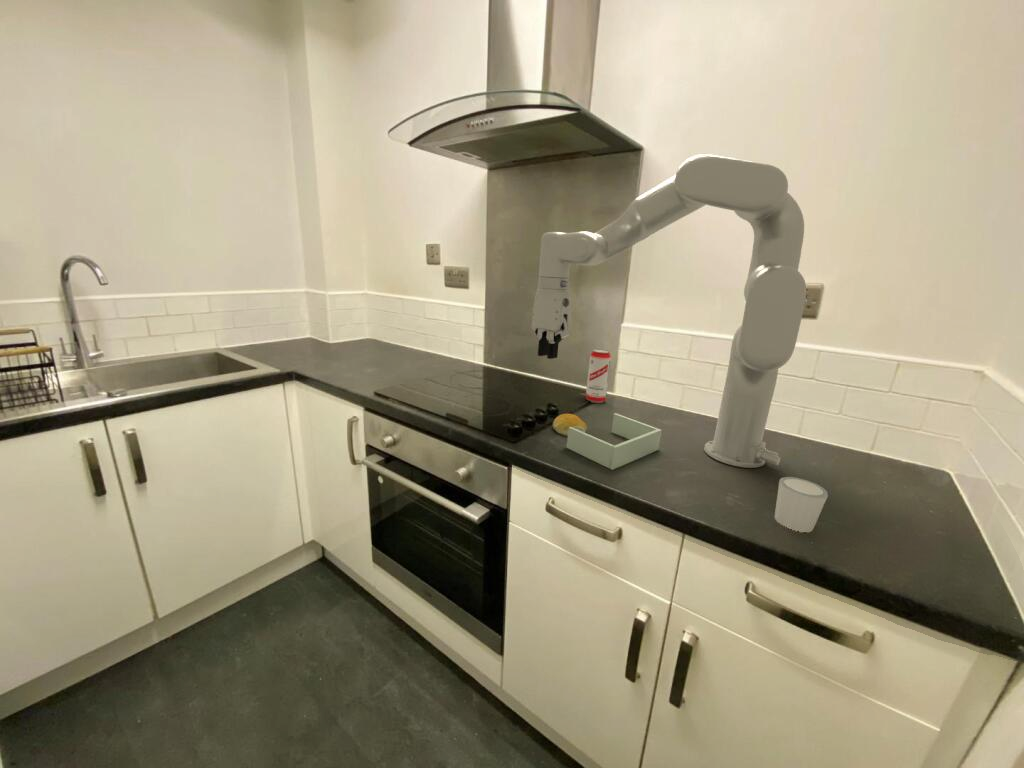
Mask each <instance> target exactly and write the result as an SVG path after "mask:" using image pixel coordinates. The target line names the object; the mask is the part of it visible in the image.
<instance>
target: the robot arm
mask: <svg viewBox="0 0 1024 768" xmlns="http://www.w3.org/2000/svg"><path fill="white" fill-rule="evenodd" d="M788 189H789V181H788V179H787V176H786V174H785V172H783V170H781V169H780V168H778V167H777V166H775V165H771V164H768V163H762V162H756V161H750V160H744V159H737V158H734V157H727V156H726V157H725V156H720V155H714V154H705V153H704V154H697V155H693V156H692V157H689V158H687V159H686V160H685V161H684V162H683V163H681V164H680V166H679V168H678V169H677V171H676V173H675V175H673V176H671V177H670V178H668V179H666V180H665V181H663V182H662V183H660V184H658V185H657V186H655V187H653V188H652V189H649V190H648V191H647V192H644V193H643V194H640V195H639V196H638V197H636V198H635V199H634V200H633V201H631V203H630V204H629V206H628V207H627V208H626V209H625V211H624V212H623V213H622V214H621V215H620V216H619V217H618V218H616V219H615V220H614V221H612V222H611V223H609V224H608V225H606V226H604V227H602V228H601V229H598V230H597V231H596V232H592V231H591V232H590V231H585V230H584V231H576V232H561V231H549V232H548V231H547V232H544V233H543V234H542V236H541V241H540V255H539V268H538V269H539V270H538V283H537V289H536V290H535V291H536V292H535V296H534V300H533V308H532V315H531V317H532V318H531V319H532V320H531V322H532V323H531V325H530V328H531V330H533V332H534V333H535V335H536V339H537V341H538V347H537V356H539V357H544V356H546V358H547V359H548V360H549V359H550V360H551V359H557V358H558V354H559V353H558V352H559V344H560V343H561V342H562V340H563V339H564V338H567V337H569V336H570V330H571V327H572V326H571V325H572V297H571V296H572V295H571V292H570V291H569V288H570V287H571V281H569V280H570V271H571V270H570V269H571V264H574V265H578V266H584V267H585V266H588V267H592V266H598V265H600V264H602V263H604V262H606V261H608V260H610V259H611V258H613V257H615V256H617V255H619V254H621V253H622V252H624V251H626V250H628V249H630V248H631V247H633V246H635V245H636V244H638V243H640V242H642V241H644V240H645V239H647V238H649V237H650V236H651V235H653V234H655V233H657V232H659V231H660V230H663V229H664V228H666V227H668V226H670V225H671V224H674V223H675V222H677V221H679V220H681V219H682V218H684V217H687V216H688V215H690V214H692V213H694V212H696V211H697V210H700V209H701V208H703V207H705V206H710V207H714V208H719V209H724V210H729V211H733V212H734V213H735V215H736V216H738V217H739V218H740V219H742V220H744V221H746V222H748V223H749V224H750V226H751V228H752V230H753V231H752V232H753V245H752V251H751V259H750V264H749V269H748V273H747V274H748V275H747V278H746V282H745V284H744V287H743V288H744V289H743V296H744V299H745V306H744V311H743V315H742V316H743V317H742V323H741V325H740V326H739V327H738V328H737V330H736V331H735V332H734V335H733V338H732V342H731V348H730V352H729V353H730V355H729V361H728V368H727V372H726V378H725V382H724V388H723V392H722V397H721V402H720V408H719V411H718V416H717V421H716V427H715V432H714V436H713V440H709V441H707V442H706V443H705V444H704V448H703V449H704V451H705V453H706V454H707V455H708V456H709V457H710V458H712V459H714V460H716V461H718V462H721V463H724V464H727V465H730V466H734V467H738V468H746V469H748V468H749V469H753V468H761V467H763V466H764V465H765V464H766V462H767V463H769V464H772V465H775V466H778V465H779V464H780V461H781V456H779V453H778V452H776V451H773V450H768V449H767V448H766V445H767V442H765V441H763V437H764V434H765V429H766V426H767V421H768V417H769V413H770V408H771V404H772V401H773V400H772V399H773V397H774V394H775V388H776V384H777V379H778V373H779V369H780V368H782V367H783V366H785V365H786V364H787V363H788V361H790V359H791V358H792V355H794V350H795V347H796V344H797V339H798V335H799V331H800V327H801V322H802V318H803V312H804V309H805V303H806V299H807V284H806V281H805V277H804V276H803V274H801V272H800V271H799V267H800V261H801V260H800V259H801V255H802V248H803V243H804V237H805V235H804V234H805V220H804V215H803V213H802V209H801V208H800V205H799V203H798V202H797V201H796V200H795V198H794V197H793V196H792V195H791V194H790V193H788ZM549 332H550V334H549ZM548 338H550V339H548Z"/></svg>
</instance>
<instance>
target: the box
mask: <svg viewBox="0 0 1024 768" xmlns="http://www.w3.org/2000/svg"><path fill="white" fill-rule="evenodd" d="M611 433H612V434H615V435H617V436H619V437H623V438H624V439H628V440H625V441H623V442H620V443H618V444H615V445H614V444H612V443H610V442H607V441H606V440H603V439H600V438H598V437H595V436H593V435H592V434H588V433H586V432H585V433H584V432H582V431H580V430H577V429H575V428H573V427H569V429H568V436H567V439H566V448H567V449H568V450H570V451H573V452H575V453H577V454H579V455H581V456H583V457H584V458H587V459H589V460H591V461H594V462H595V463H598V464H599V465H602V466H603V467H606V468H607V469H610V470H612V471H613V470H616V469H617V468H620V467H622V466H624V465H627V464H629V463H632V462H633V461H636V460H639V459H640V458H643V457H645V456H647V455H650V454H652V453H654V452H656V451H658V450H659V449H660V443H661V437H662V429H660V428H658V427H655V426H652V425H649V424H646V423H644V422H641V421H638V420H635V419H632V418H630V417H629V416H628V417H627V416H624V415H622V414H619V413H616V412H615V413H613V420H612V427H611Z"/></svg>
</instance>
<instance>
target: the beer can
mask: <svg viewBox="0 0 1024 768" xmlns="http://www.w3.org/2000/svg"><path fill="white" fill-rule="evenodd" d="M611 361H612V357H611V354H610V350H608V349H604V348H602V349H600V348H594V349H592V352H591V353H590V355H589V362H588V363H589V364H588V372H587V373H588V374H587V381H586V390H585V391H586V392H585V398H586V400H587V401H588V400H589V401H591V402H590V403H593V404H602V403H604V402H605V401H606V400H607V394H608V393H607V392H608V385H609V379H610V378H609V377H610V370H611ZM589 401H588V402H589Z"/></svg>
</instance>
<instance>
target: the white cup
mask: <svg viewBox="0 0 1024 768" xmlns="http://www.w3.org/2000/svg"><path fill="white" fill-rule="evenodd" d="M828 496H829V494H828V491H827V490H826V489H825V488H824V487H822V486H821V485H819V484H817V483H816V482H813V481H810V480H807V479H803V478H800V477H793V476H785V477H781V478H780V479H779V481H778V489H777V496H776V503H775V510H774V520H775V521H776V522H777V524H779V523H780V524H779V525H781V526H782V525H783V526H782V527H784V526H785V527H784V528H786V527H787V528H786V529H788V528H789V529H788V530H790V529H792V530H791V531H794V530H795V531H794V532H797V531H799V532H798V533H803V532H807V533H811V532H812V531H813V530H814V528H815V526H816V524H817V522H818V519H819V517H820V515H821V513H822V510H823V508H824V505H825V503H826V501H827V499H828Z"/></svg>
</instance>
